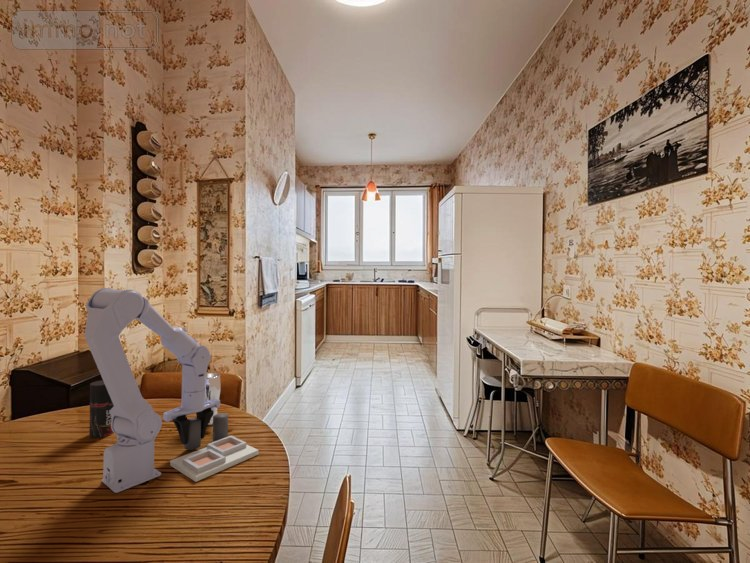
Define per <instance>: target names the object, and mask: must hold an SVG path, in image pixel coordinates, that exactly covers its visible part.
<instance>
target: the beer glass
mask: <svg viewBox="0 0 750 563" xmlns="http://www.w3.org/2000/svg"><path fill="white" fill-rule="evenodd" d="M220 395H221V374H220V373H218V372H206V385H205V401H207V400H213V399H218V400H220V397H221V396H220ZM211 410H212V411H214V414H213V416H214V415H216V414H218V408H216V407H215V408H211ZM213 416H212V418H211V419H210V421H209V423H208V426H213Z"/></svg>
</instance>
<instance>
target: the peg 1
mask: <svg viewBox="0 0 750 563" xmlns="http://www.w3.org/2000/svg"><path fill="white" fill-rule="evenodd" d="M188 419H189V420H190V424H189V428H188V442H187V444H185V445H184V444H183V449H185V450H187V451H192V450H195V449H199V448H200V447H201V444H202V440H201V418H197V417H190V418H188Z"/></svg>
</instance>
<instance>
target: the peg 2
mask: <svg viewBox="0 0 750 563" xmlns="http://www.w3.org/2000/svg"><path fill="white" fill-rule="evenodd" d="M228 436H229V414H228V413H224V412H223V413H221V412H220V413H217V414H216V415H214V416H213V424H212V442H214V441H217V440H220V439H223V438H225V437H228Z"/></svg>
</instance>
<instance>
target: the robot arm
mask: <svg viewBox="0 0 750 563" xmlns="http://www.w3.org/2000/svg"><path fill="white" fill-rule="evenodd" d="M84 306H85V308H86V312H87V316H86V322H85V329H84V338H85V342H86V344H87V345H88V348H89V350H90V353H91V355H92V357H93V360H94V362H95V365H96V368H97V369H98V371H99V372H98V373H99V374H100V377H101V379H102V380H103V381H104V384H105V386H106V388H107V391H108V393H109V395H110V398H111V400H112V402H113V405H114V407H113V408H112V409H111V410H110V414H111V418H112V420H111V429H112V431H113V432H114V433H113V434H115V435H116V440H117V441H116V443H114V444H112V445H110V446H108V447H106V448H105V449H104V451H103V458H102V459H103V460H102V461H103V473H102V475H103V476H102V479H101V481H102V483H103V484H104V485H105V486H107V487H108V488H109V489H110V490H111V491H112V492H113V493H114V494H115V493H116V494H119V493H120V492H123V491H125V490H127V489H130V488H133V487H135V486H138V485H140V484H143V483H146V482H147V481H150V480H153V479H155V478H158V477H160V476H162V472H161V471H159V470H158V469H156V468H155V440H156V438H157V435H159V433H160V431H161V429H162V425H163V421H164V422H166V423H168V422H171V421H172V422H173V424H174V425H175V427H176V430H177V433H178V435H179V440H180V443H181V444H182V445H183V446H184V445H185V444H187V442H188V428H189V424H190V420H189V418H188V415H193V414H196V418H201V439H202V440H203V439H204V438H205V435H206V431H207V428H208V426H209V425H208V423H209V421H210V419H211V418H212V416H213V414H214V411H212V410H211V408H215V407H216V408H217V409H218V408H220V407H221V400H220V399H219V400H218V399H213V400H207V401H205V385H206V373H207V371H208V366H209V363H210V362H211V359H212V354H211V353H210V350H209V349H208V347H207V346H204V345H200V344H199V343H198V342H199V341H198V340H197V339H196V338H193V337H191V335H189V334H188V333H187V332H188V330H187V329H186V328H185V327H180V326H172V324H170V323H169V322H168V321H167V320H166V319H165V318H164V317H163V316H162V315H161V314H160V312H158V311H157V309H155V308H154V307H153V306H152V304H150V301H149V299H147V297H144V296H143V295H142V294H141V293H140V292H139V291H137V290H135V289H118V288H117V289H116V288H109V287H103V288H99V289H97V290H96V291H95V292H93V293H92V295H91V296H90V298H89V299H88V300H87V302H85V304H84ZM134 320H137V321H139V322H140V323H142V325H144V326H145V327H147V328H148V329H150V330H151V332H153V333H155V334H157V335H158V336H159V337H160V344H161V345H162V346H163V347H164V348H166V349H167V350H168V351H169V352H171V353H172V354H173V355H174V356H175V357H176V360H177V361H176V362H177V363H178V364H180V365H181V366H182V368H181V370H182V371H181V405H180V406H178V407H176V408H172V409H170V410H167V411H165V412H163V413H162V414H163V416H162V417H161V415H160V414H158V412H156V411H155V409H154V408H153V406H152V405H151V404H150V403H149V402H148V401H147V400H146V399H145V398H144V397H143V396H142V393H141V390H140V388H139V386H138V383H137V381H136V380H137V379H135V376H134V373H133V370H132V367H131V365H130V363H129V360H128V357H127V354H126V353H125V350H124V347H123V345H122V343H121V342H122V341H121V340H120V335H121V334H122V331H123V330H124V329H125V328H126V327H128V326H129V325H130V324H131V323H132V322H133V321H134ZM162 418H163V420H162Z"/></svg>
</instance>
